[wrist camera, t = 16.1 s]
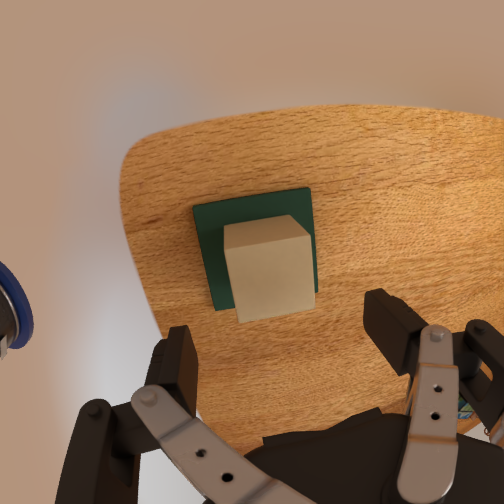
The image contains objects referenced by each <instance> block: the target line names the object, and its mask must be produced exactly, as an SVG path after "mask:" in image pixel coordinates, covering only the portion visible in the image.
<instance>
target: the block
mask: <svg viewBox="0 0 504 504" xmlns="http://www.w3.org/2000/svg"><path fill="white" fill-rule="evenodd" d="M224 253H225V259H226V264H227V269H228V274H229V279H230V283H231V288H232V293H233V298H234V303H235V308H236V312H237V317H238V322H239V323H243V322H249V321H255V320H260V319H266V318H271V317H276V316H281V315H287V314H292V313H296V312H301V311H306V310H311V309H315V290H314V274H313V260H312V247H311V236H310V234H309V233H308V232H307V231H306V230H305V229H304V228H303V227H302V226H301V225H300V224H299V223H297V222H296V221H295V220H294V219H293V218H292V217H291V216H290V215H283V216H277V217H271V218H265V219H259V220H253V221H247V222H241V223H236V224H230V225H225V226H224Z"/></svg>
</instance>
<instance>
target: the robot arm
mask: <svg viewBox="0 0 504 504" xmlns="http://www.w3.org/2000/svg"><path fill="white" fill-rule="evenodd" d="M363 324H364V328H365V331H366V333H367V334H368V335H369V337H370V338H371V339H372V341H373V342H374V343H375V345H376V346H377V347H378V349H379V350H380V351H381V353H382V354H383V355H384V357H385V358H386V359H387V361H388V362H389V363H390V365H391V366H392V368H393V369H394V370H395V372H396V373H397V374H398V376H402V375H404V374H407V373H409V374H410V378H409V382H408V387H407V392H406V398H405V402H404V407H403V411H402V414H398V413H385V414H382V412H381V411H380V409H379V407H376V408H373V409H371V410H368V411H365V412H362V413H359V414H356V415H353V416H351V417H349V418H347V419H345V420H344V421H342V422H340V423H338V424H336V425H334V426H333V427H331V428H329V429H327V430H321V431H295V432H288V433H283V434H278V435H273V436H267V437H262V438H263V444H264V445H263V446H260V447H258V448H256V449H254V450H252V451H250V452H249V453H247V454H245V455H244V456H242V455H241V454H239V453H238V452H237V451H236V450H234V449H233V448H232V447H231V446H230V445H228V444H227V443H226V442H225V441H224V440H223V439H221V438H220V437H219V436H218V435H217V434H216V433H215V432H213V431H212V430H211V429H210V428H209V427H208V426H207V425H206V424H205V423H203V422H202V421H201V420H200V419H199V418H197V417H196V400H197V381H198V357H197V353H196V349H195V346H194V343H193V340H192V337H191V333H190V330H189V327H188V326H187V325H183V326H176V327H170V330H169V334H168V338H167V339H162V340H160V341H159V342H158V344H157V345H156V346H155V347H154V350H153V354H152V358H151V362H150V363H151V364H150V365H149V369H148V372H147V376H146V380H145V384H144V386H143V387H141V388H140V389H138V390H137V391H136V392H135V393H134V394H133V395H132V397H131V401H130V402H127V403H124V404H120V405H116V406H112V407H111V405H110V404H109V403H108V402H107V401H106V400H104V399H93V400H90V401H88V402H87V403H85V404H84V405H83V406H82V408H81V409H80V411H79V415H78V417H77V420H76V423H75V427H74V430H73V433H72V436H71V440H70V443H69V447H68V450H67V454H66V458H65V461H64V465H63V469H62V473H61V477H60V481H59V486H58V490H57V495H56V500H55V504H138V485H139V471H140V459H141V453H145V452H149V451H153V450H156V449H160V448H161V450H162V451H163V452H164V453H165V454H166V456H167V457H168V458H169V459H170V460H171V462H172V463H173V464H174V465H175V466H176V467H177V468H178V470H179V471H180V472H181V473H182V474H183V475H184V476H185V478H186V479H187V480H188V481H189V482H190V483H191V484H192V485H193V486H194V487H195V489H196V490H197V491H198V492H199V493H200V494H201V495H202V496H203V497H204V498H205V499H206V500H205V501H204V502H203V504H504V336H503V335H502V334H500V333H499V332H498V331H497V330H496V329H495V328H494V327H493V326H492V325H490V324H489V323H488V322H486V321H484V320H480V319H474V320H471V321H469V322H468V323H467V325H466V328H465V331H463V332H456V333H451V332H450V330H449V329H447V328H446V327H444V326H441V325H429V324H428V323H427V322H426V321H425V320H423V319H422V318H421V317H420V316H419V315H418V314H417V313H416V312H415V311H413V309H412V308H411V307H408V305H407V304H406V303H405V302H404V301H403V300H402V299H399V298H397V297H395V296H390V295H389V294H388V293H387V292H386V291H385V290H383V289H382V288H379V289H375V290H371V291H367V292H366V293H365V297H364V314H363ZM20 332H21V321H20V316H19V313H18V310H17V307H16V305H15V302H14V300H13V298H12V296H11V295H10V293H9V291H8V290H7V289H6V287H5V286H4V285H3V283H2V282H1V281H0V357H1V359H3V358H4V357H5V355H6V354H7V349H8V347H9V346H10V345H11V344H12V343H13V342H14V341H15V340H16V339H17V338H18V337H19V335H20ZM482 361H483V362H484V363H485V364H486V365H487V366H488V367H489V368H490V370H491V371H492V374H493V380H492V381H491V380H490V379H489V378H488V377H487V375H486V374H485V373H484V372H483V371H482V370H481V369H480V366H481V364H482ZM459 391H460V392H461V393H462V395H463V396H464V398H465V399H466V400H467V402H468V403H469V404H470V406H471V407H472V409H473V410H474V411H475V413H476V414H477V416H478V417H479V419H480V420H481V421H482V423H483V424H484V426H485V427H486V429H487V430H488V432H489V433H490V434H489V440H490V443H488V442H485V441H482V440H478V439H475V438H472V437H469V436H465V435H462V434H459V433H456V431H457V418H458V395H459Z"/></svg>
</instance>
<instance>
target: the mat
mask: <svg viewBox="0 0 504 504" xmlns="http://www.w3.org/2000/svg"><path fill="white" fill-rule="evenodd" d="M192 209H193V214H194V219H195V224H196V229H197V233H198V238H199V243H200V248H201V252H202V257H203V261H204V266H205V270H206V274H207V279H208V283H209V287H210V292H211V296H212V300H213V304H214V308H215V311H219V310H225V309H231V308H235V303H234V298H233V293H232V288H231V283H230V279H229V274H228V269H227V264H226V259H225V253H224V226H225V225H230V224H236V223H241V222H247V221H253V220H259V219H265V218H271V217H277V216H283V215H290V216H291V217H292V218H293V219H294V220H295V221H296V222H297V223H299V224H300V225H301V226H302V227H303V228H304V229H305V230H306V231H307V232H308V233H309V234H310V236H311V247H312V260H313V274H314V290H315V293H317V292H318V276H317V260H316V245H315V233H314V221H313V210H312V200H311V190H310V188H308V187H305V188H298V189H291V190H284V191H277V192H270V193H263V194H257V195H251V196H244V197H238V198H232V199H227V200H221V201H215V202H210V203H204V204H199V205H194V206H193V207H192Z"/></svg>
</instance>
